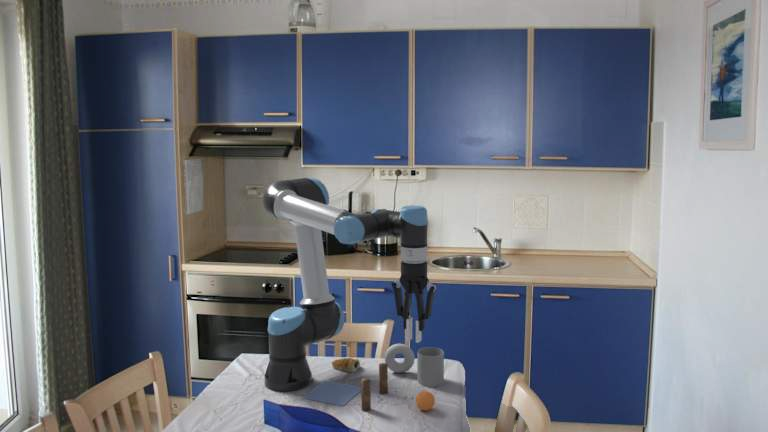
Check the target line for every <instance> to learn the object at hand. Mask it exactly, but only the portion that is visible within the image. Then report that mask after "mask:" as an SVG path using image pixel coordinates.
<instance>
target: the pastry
mask: <svg viewBox="0 0 768 432" xmlns="http://www.w3.org/2000/svg"><path fill="white" fill-rule="evenodd" d="M331 365H332V367H333V369H337V370H338V371H340V370H341V371H342V372H345V371H347V372H346V373H354V372H356V371H357V370H358V369H359V368H361V362H360V360H359V358H357V359H356V358H352V357H346V358H343V357H342V358H340V359H339V358H338V359H336V360H333V361H332V362H331Z"/></svg>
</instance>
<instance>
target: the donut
mask: <svg viewBox="0 0 768 432" xmlns="http://www.w3.org/2000/svg"><path fill="white" fill-rule="evenodd" d="M397 355H402V356H403V358H404V360H403V361H401V362H398V361H397V360H396V359H395V357H396V356H397ZM415 358H416V357H415V353H414V351H413V349H412V348H410V346H408V345H406V344H404V343H394V344H392V345H391V346H389V347H388V348H387V349H386V351H385V353H384V363H386V364H388V369H389V370H390V371H391V372H393V373H396V374H403V373H406V372H408V371H409V370H410V369H411V368H412V367H413V365H414V363H415V360H416V359H415Z"/></svg>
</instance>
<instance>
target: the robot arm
mask: <svg viewBox="0 0 768 432" xmlns="http://www.w3.org/2000/svg"><path fill="white" fill-rule="evenodd" d="M329 203H330V194H329V192H328V189H327V187H326V186H325V184H324V183H323V182H322V181H321V180H320V179H318V178H313V177H302V178H294V179H285V180H283V179H282V180H277V181H274V182H272V183H270V184H269V185H268V186H267V187H266V188H265V190H264V192H263V194H262V205H263V208H264V211H266V212H267V213H268V214H269V215H270V216H272V217H274V218H276V219H279V220H281V221H288V222H289V223H291V225H293V227H294V232H295V241H296V242H295V243H296V248H297V249H296V250H297V256H298V257H297V258H298V262H299V263H298V264H299V265H298V266H299V271H300V279H301V280H300V281H301V289H302V295H303V298H302V299H301V300H300V301H299V306H290V307H283V308H278V309H276V310H275V311H273V312H272V313H271V314H270V315H269V316H268V317H269V318H268V321H267V322H268V325H267V332H268V354H269V355H268V356H269V357H268V359H269V360H268V363H267V367H266V370H265V373H264V385H265V387H266V388H267V389H270V390H272V391H273V390H274V391H279V392H290V391H297V390H301V389H304V388H306V387H308V386H309V385H311V383H312V382H313V373H312V371H311V366H310V365H309V362H308V359H307V346H310V345H313V344H317V343H320V342H322V341H325V340H326V341H328V340H330V339H332V338H334V337H337V336H338V335H339V334H340V333H341V332H342V330H343V329H344V326H345V312H344V310H343V308H341V305H340V304H339V303H338V302H336V301H335V300H336V299H335V297H334V296H333V295H332V294H331V293H330V288H329V280H328V275H327V266H326V259H325V258H326V257H325V251H324V250H325V249H324V243H323V235H322V233H323V232H324V233H328V234H330V235H334V236H335V238H336V239H337V240H338V243H341V244H343V245H349V244H350V245H354V244H357V243H361V242H365V241H366V242H367V241H371V240H376V239H381V238H386V237H391V238H398V239H400V260H401V262H400V278H399V279H398V280H394V281H393V282H392V283H391V287H392V290H393V292H394V293H393V294H394V299H395V300H394V301H395V307H396V314H397V317H402V319H403V322H402V323H403V325H402V326H403V329H404V330H406V333H405V335H406V339H405V340H406V342H407V343H408V342H410V341H412V339H413V317H412V316H411V309H412V297H413V294H414V296H415V301H416V308H417V309H416V310H417V319H416V320H415V343H417V344H419V343H421V341H422V338H423V336H422V333H423V331H424V330H425V323H426V322H425V320H428V319H429V318H430V317H431V316H432V312H433V306H434V304H433V303H434V296H435V292H436V290H437V288H438V285H437V284H432V283H431V282H430V281H429V280H430V279H429V278H428V262H427V260H428V228H429V227H428V225H429V224H428V223H429V220H428V210H427V208H426V207H425V206H422V205H404V206H402V207H401V208H400V211H398V210H397V211H396V210H390V209H386V208H377V209H376V208H375V209H373V210H371V212H367V213H360V214H356V213H353V212H349V211H346V210H345V209H344V210H343V209H341V208H337V207H335V206H331V205H329ZM322 231H323V232H322ZM402 287H403V289H404V300H403V294H402V293H403V292H402ZM425 288H426V290H427V293H426V302H425V301H424V290H425ZM403 301H404V302H403Z"/></svg>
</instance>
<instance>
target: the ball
mask: <svg viewBox="0 0 768 432" xmlns="http://www.w3.org/2000/svg"><path fill="white" fill-rule="evenodd" d="M435 402H436V400H435V396H434V395H433V393H431V392H430V391H427V390H422V391H420V392H419V393H418V394H417V395H416V398H415V404H416V406H417V408H418V409H419V410H421V411H424V412H427V411H429V410H431V409H433V407H434V405H435Z"/></svg>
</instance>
